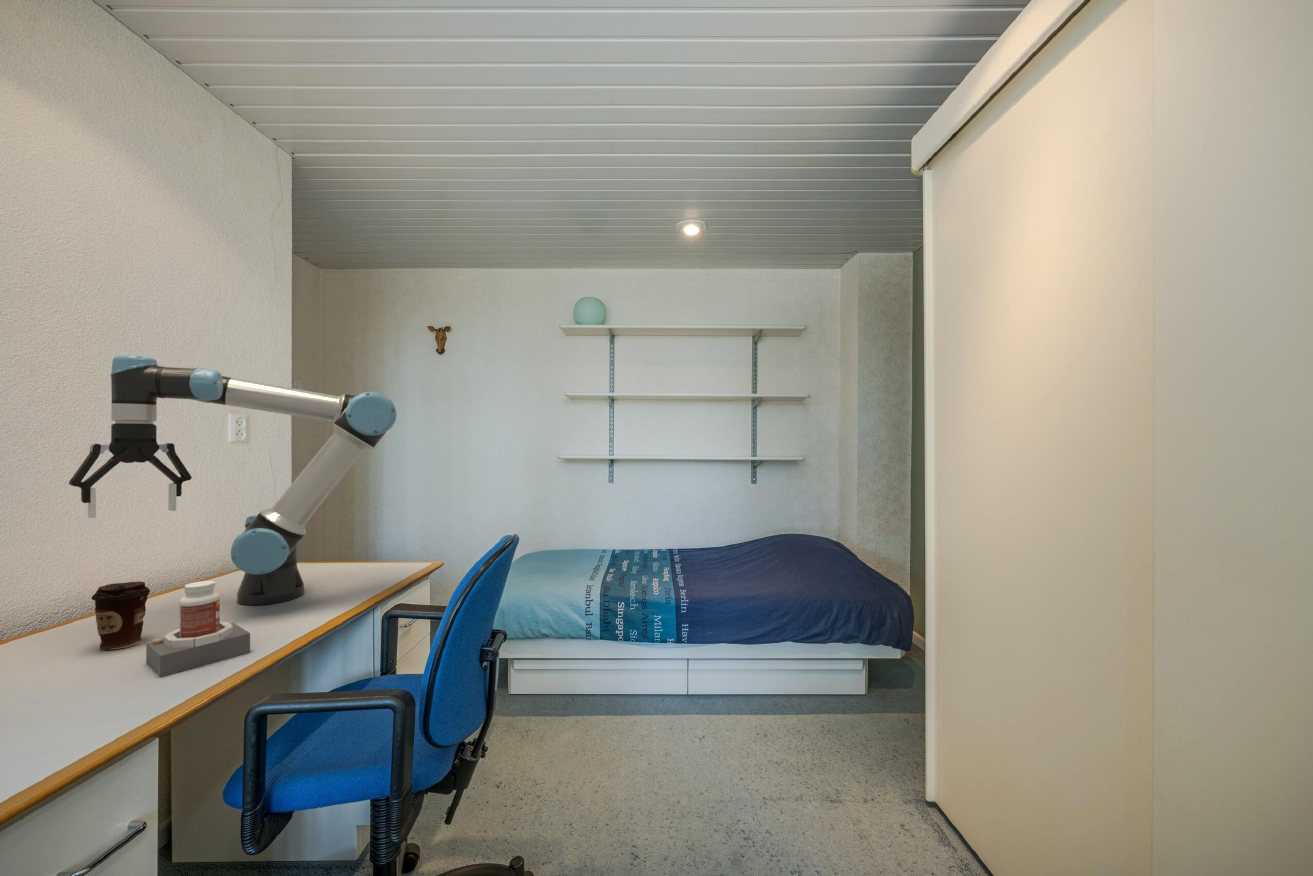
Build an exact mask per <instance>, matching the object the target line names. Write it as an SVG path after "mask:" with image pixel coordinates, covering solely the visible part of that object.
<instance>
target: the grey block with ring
mask: <svg viewBox="0 0 1313 876" xmlns="http://www.w3.org/2000/svg"><path fill="white" fill-rule="evenodd" d="M145 646H146V647H145V648H146V650H145V651H146V653H145V658H146V659H145V662H146V663H145V664H146V665H147V666H148V667H149V668H151V670H152V671H153V672H155V674H156V675H157V676H159V678H161V677H166V676H168V675H172V674H176V673H179V672H184V671H186V670H190V669H191V670H192V669H194V668H198V667H201V666H204V665H210V664H212V663H215V662H219V661H223V660H227V659H231V658H234V657H238V656H241V655H245V654H249V653H251V633H250V632H249V631H248V630H246V629H244V628H242V627H241V626H239V625H238V624H236V623H234V622H231V623H230V622H228V621H220V630H219V631H218V632H216V633H212V634H208V635H204V636H199V637H194V638H180V628H177V629H175V630H172V631H171V632H168V633H167V634H165V635H164V637H162V636H160V637H154V638H152V641H149V642H146V643H145Z"/></svg>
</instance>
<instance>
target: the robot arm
mask: <svg viewBox="0 0 1313 876" xmlns="http://www.w3.org/2000/svg"><path fill="white" fill-rule="evenodd" d="M111 362H112V363H111V373H110V383H111V385H110V386H111V388H110V389H111V411H110V414H111V416H110V420H111V421H113V422H114V423H112V424H111V425H110V426H111V428H110V429H111V430H110V432H111V433H110V443H109V444H100V443H92V444H91V445H90V447H89V453H88V454H87V457H85V459H84V460H83V462H82V463H81V464H80V466H79V467H78V469H77V470H76V472H75V473H74V475H73V476H72V477H71V478H70V480H69V481H68V484H69V485H70V486H72V487H76V488H79V489H80V495H81V496H80V497H81V498H80V501H81V502H82V503H83V504H87V518H90V519H95V518H97V488H95V487H92V486H93V485H95V484H96V483H97V482H98V481H99V480H101V479H102V478H103V477H104V476H105V475H106V474H107V473H109V472H110V471H112V469H113V468H115V467H116V466H117V465H119V464H120V463H125V464H130V463H131V464H132V463H143V464H144V463H146V462H149V463H150V464H151V465H152V466H154V467H155V468H156V469H157V470H158V471H160V472H161V473H162V474H163V475H165V477H167V478H168V479H169V480H170V481H172V482H173V483H172V482H171V483H168V507H167V508H168V511H171V512H173V511H174V512H175V511H177V497H181V496H182V494H183V493H182V488H183V487H182V484H183V483H184V482H187V481H191V479H192V478H193V477H192V475H191V474H190V472H189V470H188V469H187V468H186V466H185V464H184V463H183V461H182V460H181V459H180V457H179V456H178V454H177V452H176V447H175V444H174V443H172V442H170V443H169V442H167V443H163V444H159V443H158V442H157V435H158V434H157V430H158V429H157V425H156V424H155V423H154V422H157V413H158V412H157V409H158V408H157V400H158V399H176V400H192V401H198V402H201V403H202V402H203V403H206V404H208V403H209V404H215V405H222V406H230V407H238V408H242V409H243V408H244V409H248V410H249V409H250V410H255V411H262V412H263V411H264V412H268V413H275V414H281V415H288V416H292V417H293V416H294V417H301V418H307V419H313V420H320V421H326V422H333V424H332V425H333V434H331V436H330V437H329V438H328V440H327V441H326V442H325V443H324V444H323V446H322V447H321V448H320V449H319V451H318V452H317V453H316V454H315V455H314V456H313V457H312V459H310V461H309V462H308V464H307V465H306V466H305V467H304V469H303V470H302V471H301V472H300V473H299V475H297V477H296V478H295V479H294V481H293V482H292V483H291V484H290V486H289V487H287V489H286V490H285V492H284V493H283V494H282V496H281V497H280V498H279V499H278V500H277V501H276V502H275V504H274V505H273V506H272V507H271V508H267V509H262V510H260V511H259V513H257V515H249V516H248V517H246V520H245V523H244V528H245V530H243V532H242V533H241V534H239V535H238V536H237V537H236V538H235V539H234V540H233V542H232V545H231V548H230V558H231V561H232V563H233V565H235V567H236V569H238V570H240V571H242V572H243V573H244V575H243V577H242V579H241V583H240V586H239V587H238V590H237V593H236V602H237V604H240V605H245V606H261V605H270V604H276V603H281V602H285V601H290V600H293V599H297V598H299V597H300V596H303V595H304V594H305V584H304V580H303V578H302V576H301V573H300V571H299V569H298V544H299V543H300V541H302V539H303V538H304V537H305V535H306V534H307V531H306V524H307V523H308V521H309V520H311V518H312V517H313V516H314V514H315V513H316V511H317V510H318V509H319V508H320V506H322V504H323V502H324V501H326V499H327V497H328V496H329V495H330V494H331V492H333V490H334V489H335V488H336V486H337V485H338V484H339V482H341V480H342V479H343V478H344V476H345V475H346V474H347V473H348V471H349V470H350V469H351V467H352V466H353V465H354V464H355V463H356V461H357V460H359V458H360V456H362V454H363V452H364V451H366V450H372V449H374V448H375V447H376V445H377V444H379V442H380V441H381V439H382V438H383V436H385V434H386V433H387V431H389V430H390V429H391V428H393V425H394V424H395V423H396V419H397V410H396V407H395V404H394V402H392V400H391V399H390V398H388V396H386V395H383V394H382V393H379V392H376V391H365V392H361V393H359V394H356V395H355V394H354V395H353V394H349V393H347V394H346V393H343V394H341V395H339V396H338V395H333V394H327V393H322V392H315V391H312V390H311V391H310V390H306V389H305V390H304V389H298V388H292V387H286V386H281V385H275V384H271V383H264V382H258V381H253V380H247V379H246V380H245V379H241V378H234V377H229V376H224V375H222V374H221V372H220V371H219V370H217V369H207V368H204V367H203V368H202V367H199V368H196V367H195V368H193V367H192V368H190V367H170V366H169V367H167V366H161V365H160V366H159V364H158V362H157V360H156V358H153V357H148V356H140V355H138V356H137V355H122V354H121V355H116V356H115V357H113V359H112V361H111ZM159 450H160V451H161V452H162V453H165V454H166V456H167V458H168V459H169V461H170V462H171V463H172V465H173V467H174V468H175V470H176V471H177V472H178V474H179V476H178V474H176V473H175V472H174V471H173V470H171V469H170V468H169V467H168V466H167V465H166V464H164V463H163V462H162V461H161V460H160V459H159V458H158V457H157V456H156V455H155V454H156V453H157V452H158V451H159ZM106 451H109V452H110V453H111V454H112V455H113V456H112V457H110V458H109V459H108V460H107V461H106V462H105V463H103V465H102V466H100V467H99V468H98V469H97V470H96V471H94V472H93V473H92V474H91V475H90V476H89V477H87V478H86V479H85V480H84V481H83V479H84V478H85V477H86V475H87V474H88V472H89V471H90V470H91V469H92V467H93V466H94V464H95V463H96V461H97V459H98V458H99V457H100V455H101V454H102V455H103V454H104V453H105V452H106Z"/></svg>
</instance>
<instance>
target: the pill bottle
mask: <svg viewBox="0 0 1313 876" xmlns="http://www.w3.org/2000/svg"><path fill="white" fill-rule="evenodd" d="M215 588H216V583H215V581H214V580H203V581H195V582H191V583H187V584H185V585H184V589H183V590H184V594H185V595H184V596H183V597H182V598H180V601H179V629H180V638H194V637H199V636H204V635H208V634H212V633H216V632H218V631H219V630H220V622H221V618H220V616H221V612H220V610H221V609H220V607H221V606H220V605H221V603H220V602H221V601H220V599H221V597H220V594H219V593H218V592H217V591H214V590H215Z"/></svg>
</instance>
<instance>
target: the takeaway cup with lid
mask: <svg viewBox="0 0 1313 876" xmlns="http://www.w3.org/2000/svg"><path fill="white" fill-rule="evenodd" d="M150 593H151V589H150V588H149V587H148V586H146V582H145V581H128V582H117V583H115V582H114V583H110V584H106V585H102V586H99V587H97V590H96V592H95V593H94V594H93V595H92V596H91V598H90V599H91V600H92V601H94V605H95V607H94V613H95V622H96V627H97V634H98V636H99V638H100V643H99V649H100V650H105V651H110V650H120V649H125V648H126V649H127V648H130V647H133V646H136V645H139V644H141V643H142V638H141V637H142V633H143V626H144V623H145V622H144V618H145V615H146V609H147V607H146V602H147V600H148V596H149V594H150Z"/></svg>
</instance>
